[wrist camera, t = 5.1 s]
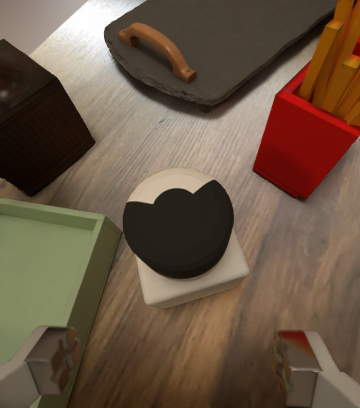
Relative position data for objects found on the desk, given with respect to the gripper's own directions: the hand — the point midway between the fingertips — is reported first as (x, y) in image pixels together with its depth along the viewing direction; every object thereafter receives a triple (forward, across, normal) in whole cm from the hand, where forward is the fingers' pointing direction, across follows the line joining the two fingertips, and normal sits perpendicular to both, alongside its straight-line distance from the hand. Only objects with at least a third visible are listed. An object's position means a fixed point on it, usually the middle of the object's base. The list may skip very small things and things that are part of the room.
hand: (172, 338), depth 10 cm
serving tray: (+39, +7, +21) cm, 44 cm away
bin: (+11, -16, -7) cm, 20 cm away
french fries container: (+21, +12, +3) cm, 24 cm away
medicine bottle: (+13, 0, -5) cm, 14 cm away
